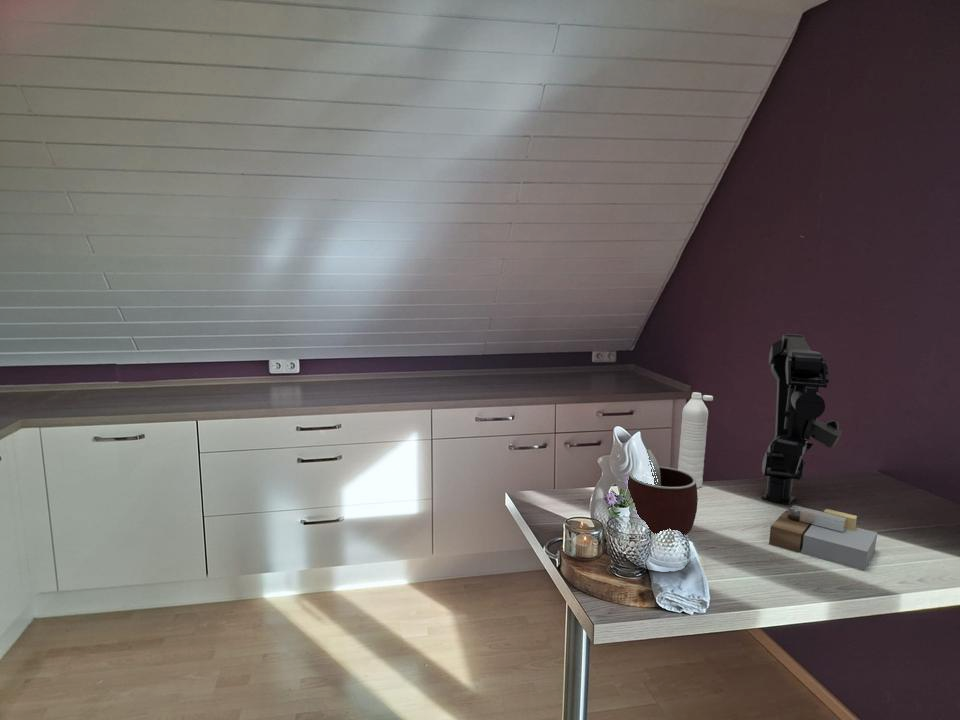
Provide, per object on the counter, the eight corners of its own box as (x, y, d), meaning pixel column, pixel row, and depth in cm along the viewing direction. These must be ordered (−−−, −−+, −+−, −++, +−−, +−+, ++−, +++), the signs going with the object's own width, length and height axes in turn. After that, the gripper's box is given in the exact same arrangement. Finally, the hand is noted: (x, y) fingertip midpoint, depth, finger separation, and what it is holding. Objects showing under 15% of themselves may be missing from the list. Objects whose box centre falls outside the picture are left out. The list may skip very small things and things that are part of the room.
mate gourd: (703, 574, 127) (712, 474, 124) (633, 575, 126) (640, 474, 122) (673, 539, 142) (680, 449, 139) (610, 540, 141) (616, 449, 138)
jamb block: (784, 526, 150) (785, 510, 150) (812, 534, 147) (814, 517, 146) (768, 544, 141) (770, 526, 140) (799, 552, 137) (801, 534, 137)
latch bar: (785, 518, 144) (787, 507, 144) (789, 514, 147) (790, 503, 147) (842, 532, 138) (844, 521, 137) (845, 528, 140) (847, 517, 140)
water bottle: (671, 481, 178) (678, 390, 174) (691, 479, 181) (698, 389, 177) (692, 492, 170) (700, 397, 166) (713, 490, 173) (721, 396, 169)
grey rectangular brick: (815, 535, 146) (818, 506, 145) (874, 550, 139) (878, 520, 138) (801, 553, 137) (805, 523, 136) (864, 570, 130) (869, 539, 129)
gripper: (832, 423, 136) (823, 495, 139) (848, 406, 150) (840, 471, 153) (774, 413, 143) (767, 482, 146) (795, 398, 157) (788, 460, 160)
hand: (792, 474), depth 151 cm, fingers closed
